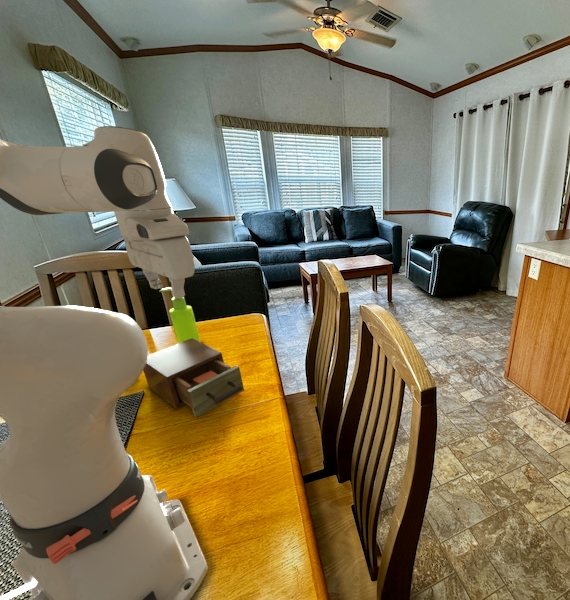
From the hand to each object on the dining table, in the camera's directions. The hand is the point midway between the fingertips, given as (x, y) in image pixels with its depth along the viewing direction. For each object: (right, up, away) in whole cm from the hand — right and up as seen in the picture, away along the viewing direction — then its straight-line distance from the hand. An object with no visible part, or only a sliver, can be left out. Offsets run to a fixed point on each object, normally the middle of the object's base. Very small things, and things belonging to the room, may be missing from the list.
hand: (167, 292), depth 67 cm
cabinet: (-8, -24, +19) cm, 31 cm away
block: (+2, -24, +12) cm, 27 cm away
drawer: (+2, -25, +13) cm, 28 cm away
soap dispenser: (-20, -17, +37) cm, 46 cm away
